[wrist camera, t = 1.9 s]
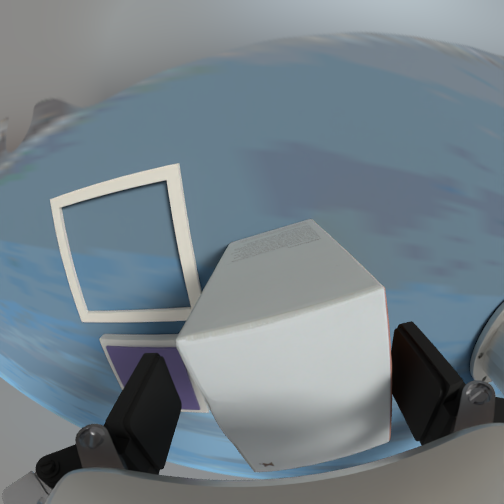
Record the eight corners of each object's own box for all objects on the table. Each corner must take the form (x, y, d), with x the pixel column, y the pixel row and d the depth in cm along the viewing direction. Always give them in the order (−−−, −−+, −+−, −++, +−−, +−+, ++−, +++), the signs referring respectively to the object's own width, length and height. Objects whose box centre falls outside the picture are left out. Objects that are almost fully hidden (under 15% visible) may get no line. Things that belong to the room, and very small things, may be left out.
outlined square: (179, 163, 19) (177, 163, 18) (207, 317, 22) (206, 319, 21) (53, 198, 20) (50, 199, 19) (84, 320, 23) (82, 322, 22)
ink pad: (188, 333, 22) (184, 341, 21) (210, 405, 24) (208, 414, 23) (103, 333, 23) (97, 340, 22) (134, 400, 25) (130, 408, 24)
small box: (336, 313, 21) (392, 444, 8) (260, 334, 22) (252, 476, 9) (312, 215, 19) (389, 283, 6) (227, 240, 20) (165, 343, 7)
